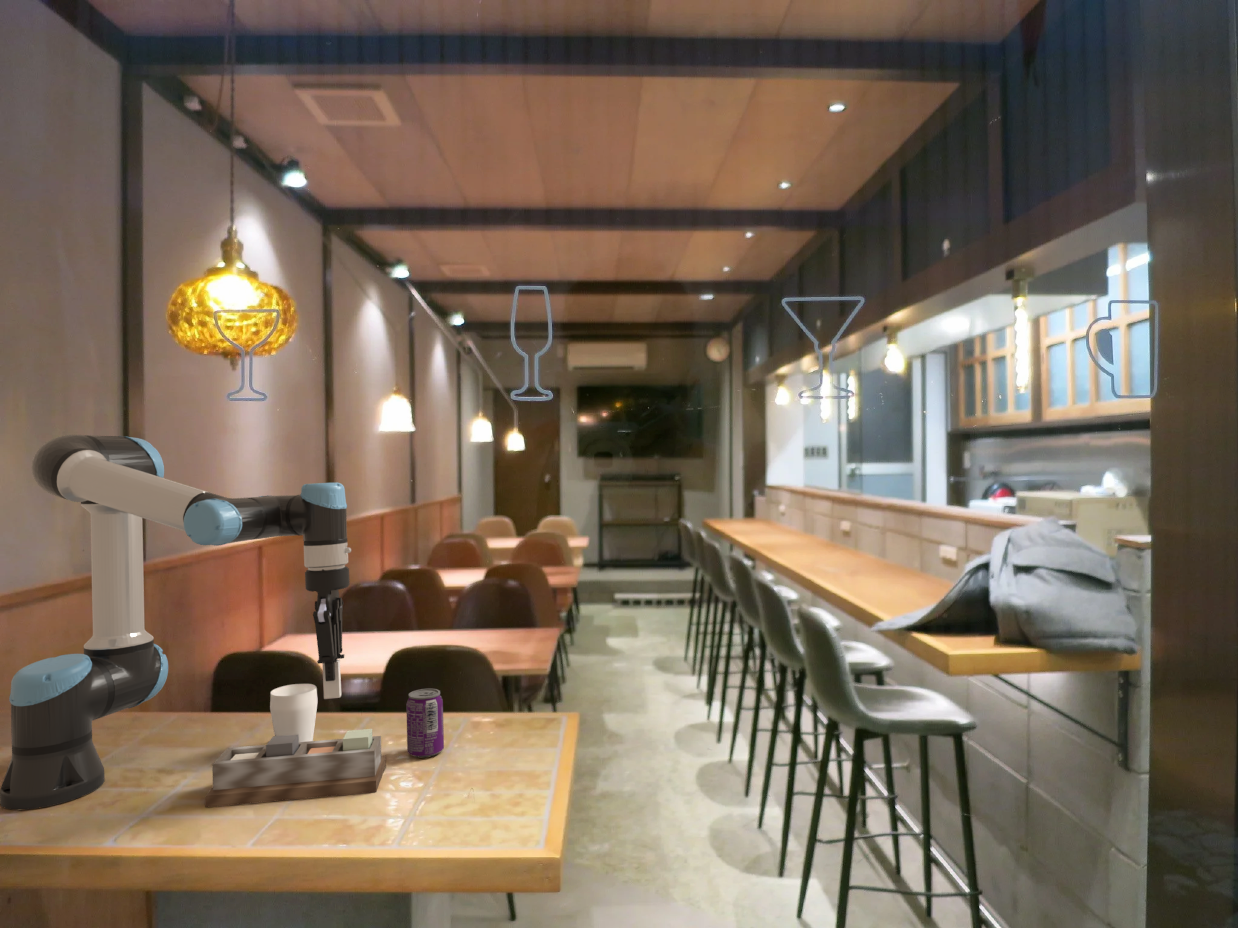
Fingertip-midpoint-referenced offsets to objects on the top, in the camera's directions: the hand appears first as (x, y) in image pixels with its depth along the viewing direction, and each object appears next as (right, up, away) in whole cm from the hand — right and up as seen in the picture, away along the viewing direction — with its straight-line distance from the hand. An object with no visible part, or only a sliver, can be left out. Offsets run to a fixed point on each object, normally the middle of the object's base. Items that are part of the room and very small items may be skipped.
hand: (332, 696), depth 137 cm
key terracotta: (-2, -13, 0) cm, 13 cm away
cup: (-15, -16, +18) cm, 29 cm away
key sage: (+4, -10, +1) cm, 11 cm away
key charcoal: (-9, -10, -1) cm, 14 cm away
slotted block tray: (-6, -16, -1) cm, 17 cm away
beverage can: (+13, -16, +14) cm, 25 cm away
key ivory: (-15, -13, -2) cm, 20 cm away
